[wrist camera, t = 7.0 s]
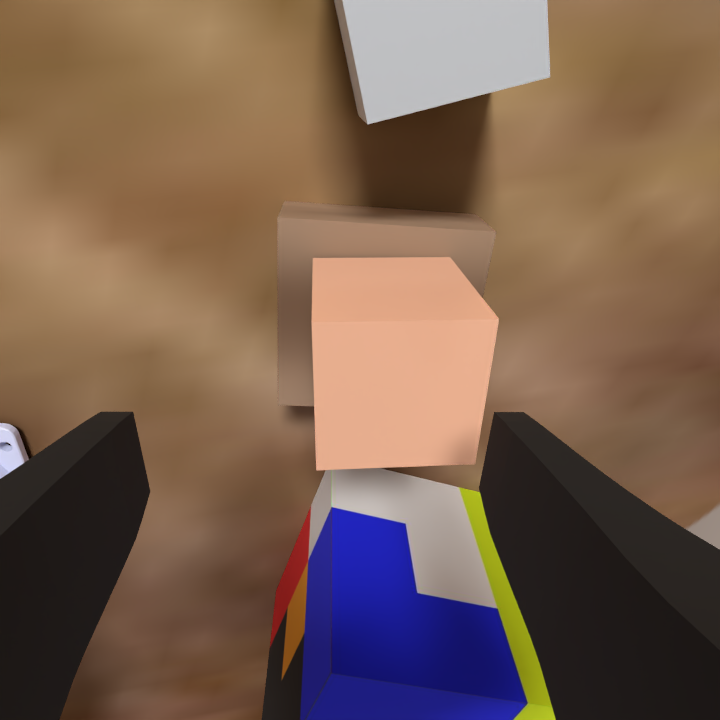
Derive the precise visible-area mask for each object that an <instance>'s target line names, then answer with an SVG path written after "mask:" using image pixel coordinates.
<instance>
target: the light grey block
mask: <svg viewBox="0 0 720 720" xmlns="http://www.w3.org/2000/svg"><path fill="white" fill-rule="evenodd" d="M334 2H335V7H336V12H337V17H338V21H339V26H340V31H341V36H342V40H343V45H344V50H345V55H346V59H347V64H348V69H349V74H350V79H351V83H352V88H353V93H354V98H355V102H356V107H357V112H358V116H359V117H360V118H361V119H362V120H363V121H364V122H366V123H367V124H372V123H375V122H379V121H383V120H387V119H391V118H395V117H399V116H402V115H406V114H410V113H414V112H418V111H422V110H425V109H429V108H433V107H437V106H441V105H445V104H449V103H452V102H456V101H460V100H464V99H468V98H472V97H476V96H479V95H483V94H487V93H491V92H495V91H499V90H502V89H506V88H510V87H514V86H518V85H522V84H526V83H529V82H533V81H537V80H541V79H545V78H549V77H550V61H549V36H548V10H547V0H334Z"/></svg>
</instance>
